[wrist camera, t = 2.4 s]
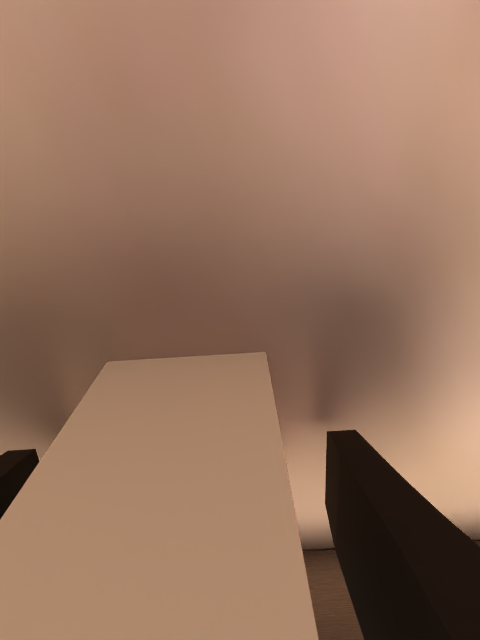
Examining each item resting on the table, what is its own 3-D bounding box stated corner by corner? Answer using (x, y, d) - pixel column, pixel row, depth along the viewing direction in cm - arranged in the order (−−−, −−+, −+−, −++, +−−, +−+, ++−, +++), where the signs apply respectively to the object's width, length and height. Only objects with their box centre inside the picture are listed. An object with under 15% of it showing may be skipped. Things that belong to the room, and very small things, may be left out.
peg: (132, 484, 11) (-15, 939, 4) (107, 361, 10) (-165, 763, 3) (270, 476, 11) (326, 920, 4) (265, 351, 10) (335, 733, 3)
